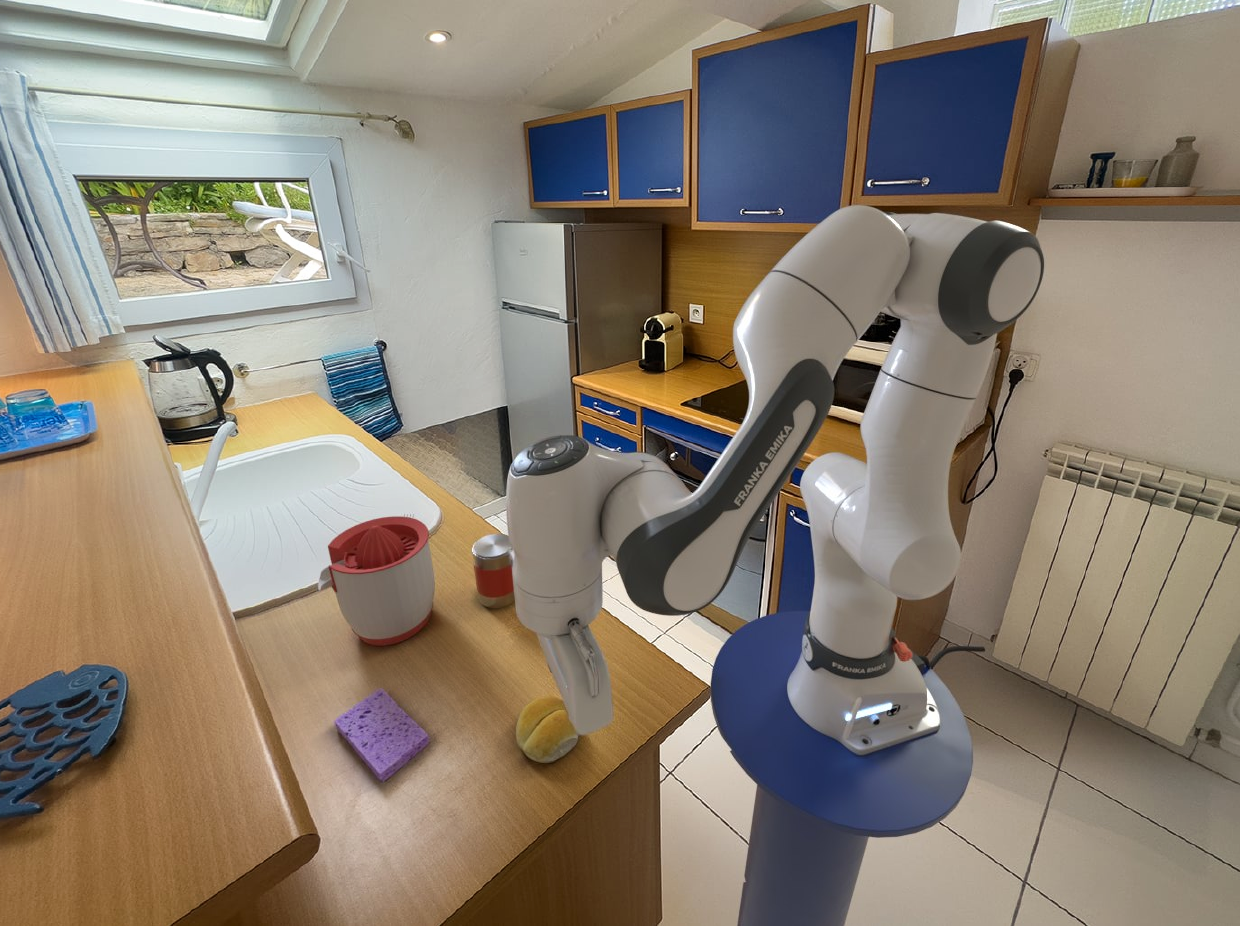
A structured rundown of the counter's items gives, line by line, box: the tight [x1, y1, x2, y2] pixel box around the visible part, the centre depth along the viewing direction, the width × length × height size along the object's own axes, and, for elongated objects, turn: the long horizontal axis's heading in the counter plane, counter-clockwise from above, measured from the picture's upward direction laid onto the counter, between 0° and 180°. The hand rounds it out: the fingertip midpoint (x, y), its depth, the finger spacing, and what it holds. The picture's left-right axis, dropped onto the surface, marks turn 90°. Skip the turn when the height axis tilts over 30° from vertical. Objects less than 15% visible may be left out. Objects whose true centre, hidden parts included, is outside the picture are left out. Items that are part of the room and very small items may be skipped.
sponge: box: [333, 687, 431, 783], centre depth 75 cm, size 7×13×2 cm, turn 53°
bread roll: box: [515, 695, 579, 764], centre depth 75 cm, size 8×9×4 cm
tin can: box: [471, 533, 515, 609], centre depth 100 cm, size 8×8×11 cm
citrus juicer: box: [317, 515, 436, 646], centre depth 91 cm, size 16×17×20 cm
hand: (565, 690), depth 60 cm, fingers open, 5 cm apart
